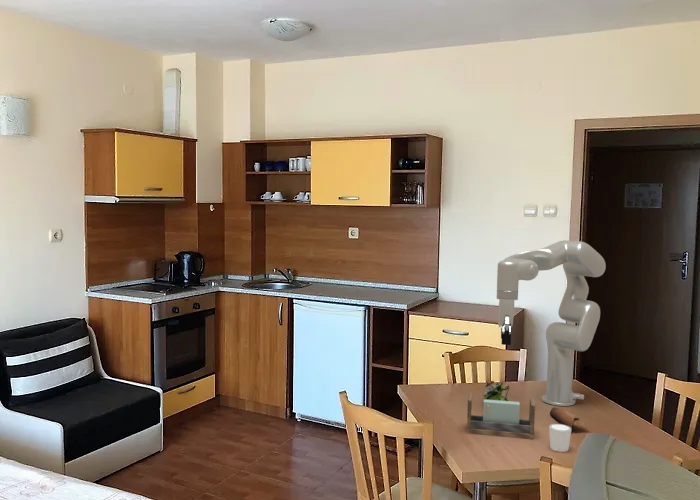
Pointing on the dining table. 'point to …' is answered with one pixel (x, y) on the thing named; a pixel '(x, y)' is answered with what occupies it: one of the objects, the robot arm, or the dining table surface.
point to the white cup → (559, 437)
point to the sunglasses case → (569, 420)
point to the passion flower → (495, 391)
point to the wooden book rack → (501, 424)
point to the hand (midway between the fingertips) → (505, 341)
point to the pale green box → (501, 411)
